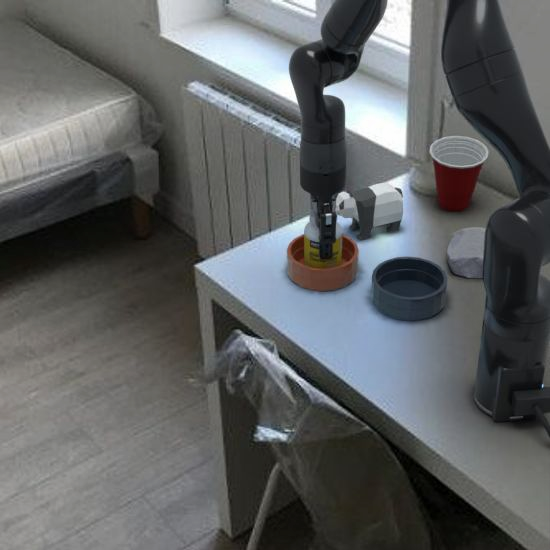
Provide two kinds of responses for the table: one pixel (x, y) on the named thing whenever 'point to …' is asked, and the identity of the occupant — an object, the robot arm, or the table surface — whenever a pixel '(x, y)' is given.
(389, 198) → the giant panda
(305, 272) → the terracotta bowl
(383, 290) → the metal bowl
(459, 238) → the stone block
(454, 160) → the plastic cup
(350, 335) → the table surface
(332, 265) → the pill bottle
